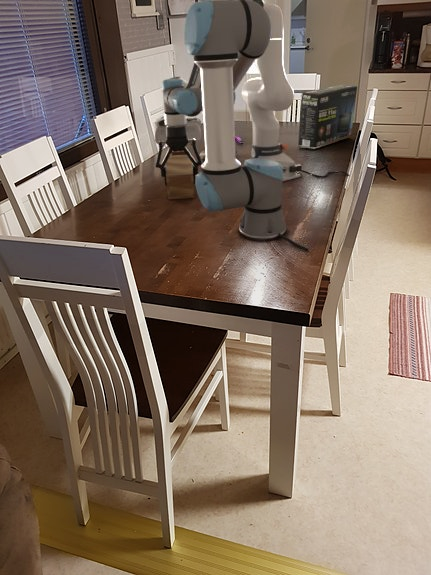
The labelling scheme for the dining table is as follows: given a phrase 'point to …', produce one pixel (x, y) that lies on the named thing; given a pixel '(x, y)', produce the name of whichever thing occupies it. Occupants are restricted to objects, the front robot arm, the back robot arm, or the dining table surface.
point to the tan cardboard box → (179, 177)
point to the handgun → (239, 140)
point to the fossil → (203, 154)
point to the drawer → (178, 153)
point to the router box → (326, 115)
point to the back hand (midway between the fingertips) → (179, 152)
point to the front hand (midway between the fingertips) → (180, 183)
